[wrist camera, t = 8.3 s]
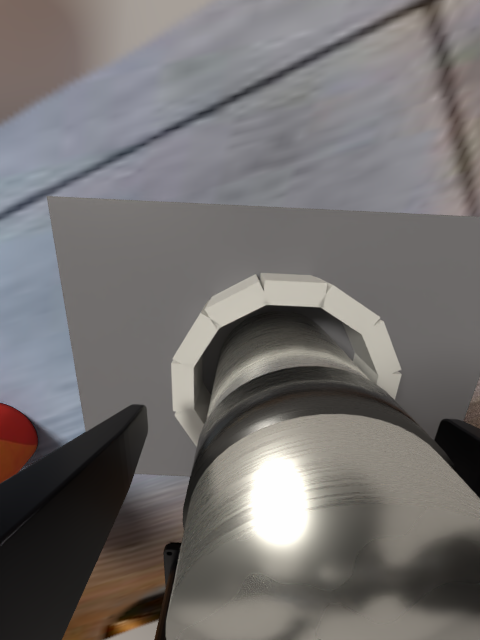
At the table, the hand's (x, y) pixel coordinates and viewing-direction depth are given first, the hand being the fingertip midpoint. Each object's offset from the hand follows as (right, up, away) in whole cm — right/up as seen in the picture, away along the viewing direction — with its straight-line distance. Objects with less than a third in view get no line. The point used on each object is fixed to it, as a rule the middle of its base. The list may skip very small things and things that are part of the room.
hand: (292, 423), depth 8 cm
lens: (0, +1, +3) cm, 4 cm away
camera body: (0, +3, +8) cm, 9 cm away
